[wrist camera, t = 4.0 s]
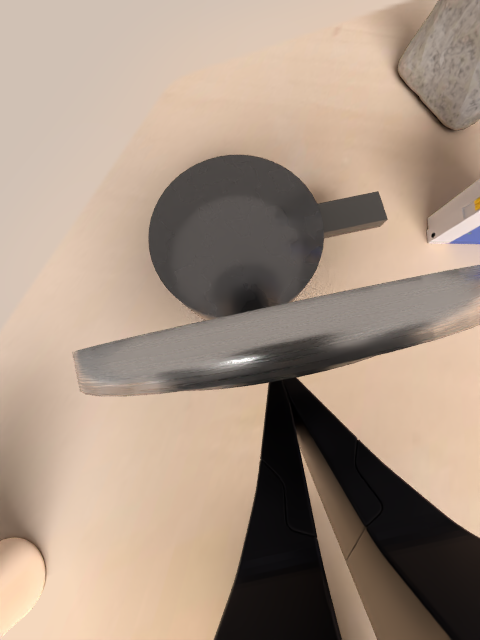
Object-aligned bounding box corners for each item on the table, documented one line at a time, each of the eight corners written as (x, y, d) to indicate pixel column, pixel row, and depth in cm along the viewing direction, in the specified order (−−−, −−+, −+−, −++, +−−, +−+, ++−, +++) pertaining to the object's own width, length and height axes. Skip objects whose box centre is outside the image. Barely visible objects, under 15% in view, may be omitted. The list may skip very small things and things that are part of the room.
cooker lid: (347, 298, 17) (352, 320, 17) (160, 337, 17) (165, 359, 17) (775, 201, 3) (801, 309, 3) (-159, 395, 3) (-137, 507, 3)
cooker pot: (370, 302, 23) (413, 283, 17) (184, 341, 23) (163, 336, 17) (334, 182, 25) (362, 127, 19) (163, 217, 25) (137, 173, 19)
